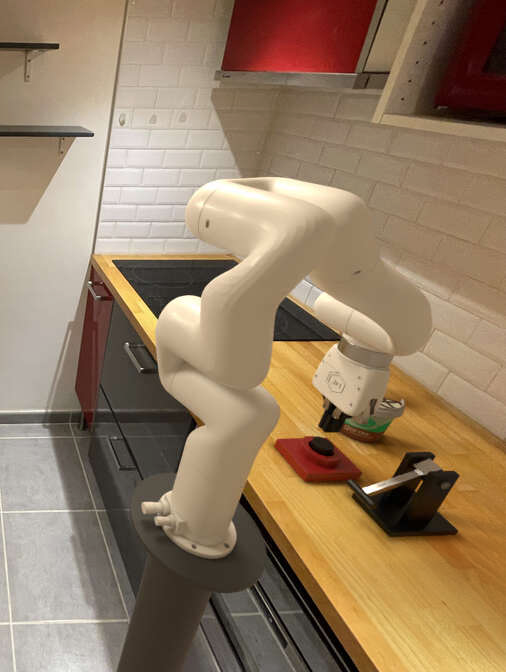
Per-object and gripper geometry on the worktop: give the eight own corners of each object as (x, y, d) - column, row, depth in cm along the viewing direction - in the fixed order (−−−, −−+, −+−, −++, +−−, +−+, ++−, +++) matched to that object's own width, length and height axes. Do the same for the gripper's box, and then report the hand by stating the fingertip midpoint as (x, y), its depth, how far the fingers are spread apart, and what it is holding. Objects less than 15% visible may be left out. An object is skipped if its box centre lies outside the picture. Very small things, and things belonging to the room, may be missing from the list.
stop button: (318, 456, 87) (321, 450, 87) (305, 442, 91) (308, 436, 90) (336, 456, 88) (339, 449, 87) (322, 442, 91) (325, 436, 90)
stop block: (304, 482, 86) (311, 467, 85) (273, 446, 95) (279, 432, 93) (358, 480, 87) (366, 465, 85) (323, 445, 95) (330, 430, 93)
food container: (325, 435, 98) (342, 399, 93) (319, 417, 103) (335, 382, 98) (397, 455, 93) (417, 418, 89) (387, 435, 98) (406, 399, 94)
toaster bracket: (389, 537, 76) (421, 484, 71) (351, 496, 83) (377, 445, 78) (455, 535, 77) (492, 482, 71) (412, 495, 84) (442, 444, 79)
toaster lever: (370, 512, 76) (368, 504, 75) (346, 487, 80) (345, 479, 79) (451, 485, 74) (451, 475, 73) (422, 460, 78) (421, 452, 77)
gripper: (313, 328, 86) (283, 403, 93) (382, 376, 72) (340, 460, 80) (350, 328, 86) (317, 403, 94) (425, 376, 73) (380, 459, 80)
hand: (328, 429), depth 87 cm, fingers closed
